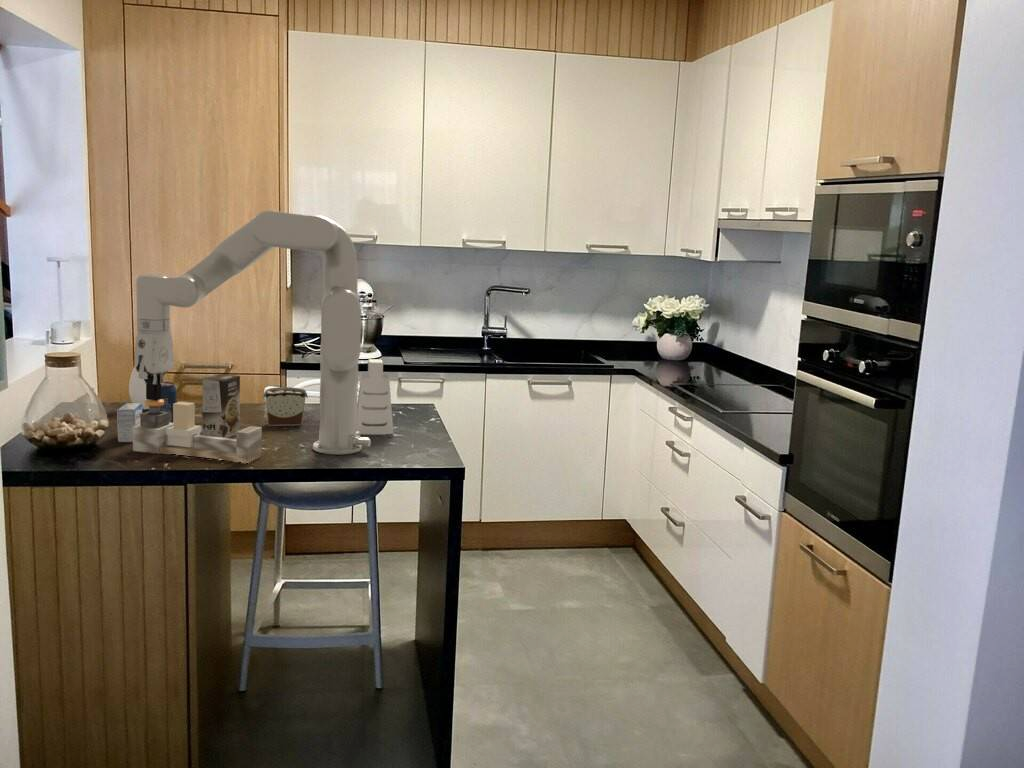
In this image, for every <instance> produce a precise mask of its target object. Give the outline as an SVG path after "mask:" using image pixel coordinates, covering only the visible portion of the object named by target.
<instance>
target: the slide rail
mask: <svg viewBox="0 0 1024 768" xmlns="http://www.w3.org/2000/svg"><path fill="white" fill-rule="evenodd" d="M172 426H173V423H170V422H169V413H167V412H162V411H160V414H159V415H150V414H149V410H148V411H145V412H142V414H140V425H137V426H134V427H133V442H132V451H133V452H140V453H148V452H149V454H156V453H157V455H159V454H161V453H162V454H164V455H170V454H176V455H175V456H178V455H187V456H196V457H206V458H214V459H222V460H228V461H227V462H229V461H233V462H232V463H238V462H241V463H240V464H246V463H248V464H250V463H252V462H254V461H256V460H258V459H260V458H262V457H261V456H262V452H263V449H262V444H263V441H262V440H263V439H262V438H263V434H262V433H263V432H262V431H263V428H262V426H253V425H250V426H248V427H244V428H243V429H240V431H238V432H236V435H235V436H236V438H221V437H212V436H203V435H202V434H200V435H193V447H182V446H173V445H168V435H166V428H169V427H172ZM162 454H161V455H162ZM187 456H186V457H187ZM259 457H260V458H259ZM257 458H258V459H257ZM255 459H256V460H255ZM253 460H254V461H253ZM251 461H252V462H251ZM249 462H250V463H249Z"/></svg>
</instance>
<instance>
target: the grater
mask: <svg viewBox="0 0 1024 768" xmlns="http://www.w3.org/2000/svg"><path fill="white" fill-rule="evenodd" d="M390 383H391V382H390V377H389V374H388V373H384V361H383V360H382V359H381V358H380V359H377V358H376V359H375V358H372V359H371V358H369V359H368V363H367V373H366V372H365V373H360V382H359V388H358V389H359V390H358V394H357V426H356V431H359V432H360V435H386V434H393V435H394V424H393V423H394V422H393V411H392V410H393V409H392V399H391V398H392V397H391V386H390V385H391V384H390Z"/></svg>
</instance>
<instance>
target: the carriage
mask: <svg viewBox="0 0 1024 768" xmlns="http://www.w3.org/2000/svg"><path fill="white" fill-rule="evenodd" d="M195 405H196V404H195V402H188V401H177V403H174V404H173V426H172V427H169V428H166V435H168V445H173V446H182V447H193V435H201V433H202V425H196V424H195V423H196V421H195V419H196V416H195V415H196V411H195V410H196V408H195V407H196V406H195Z"/></svg>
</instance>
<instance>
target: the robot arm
mask: <svg viewBox="0 0 1024 768" xmlns="http://www.w3.org/2000/svg"><path fill="white" fill-rule="evenodd" d="M275 248H279V249H280V248H281V249H287V250H297V251H309V252H316V253H317V252H319V253H320V256H321V259H322V275H323V276H322V278H323V280H322V281H323V282H322V283H323V284H322V298H321V304H320V309H321V310H320V316H321V317H320V318H321V320H320V326H321V327H320V331H321V332H320V336H321V338H320V347H319V348H320V349H319V350H320V354H319V355H320V366H319V367H320V368H319V369H320V373H319V374H320V375H319V376H320V378H319V381H320V382H319V384H320V385H319V418H318V421H319V423H318V425H319V426H318V431H319V432H318V440H317V441H315V442H313V444H312V450H314V451H315V452H316V453H320V454H324V455H335V456H336V455H351V454H356V453H359V452H360V451H362V449H363V447H370V446H371V444H372V443H371V442H372V441H371V439H370V437H365V436H364V437H362V435H361V434H360V432H359V431H356V426H357V402H358V392H359V390H358V389H359V388H358V386H359V360H360V355H361V337H362V336H361V335H362V333H361V332H362V329H361V327H362V325H361V323H362V310H361V303H360V299H359V296H358V295H359V293H358V259H357V258H358V257H357V251H356V248H355V245H354V243H353V240H352V239H351V236H350V235H349V233H347V231H346V230H345V229H344V228H343V227H342V226H341V225H340V224H338V223H336V222H335V221H334V220H332V219H330V218H329V217H327V216H323V215H310V214H301V213H290V212H284V211H279V210H273V209H266V210H263V211H261V212H259V213H258V214H256V216H255V217H253V219H251V220H249V222H247V223H245V224H244V225H243V226H242V227H240V228H238V230H236V231H235V232H234V233H231V234H230V236H228V237H227V238H224V240H222V241H221V242H220V243H219V244H218V245H217V246H216V247H215V248H214V250H213V251H212V252H211V253H210V254H208V255H207V256H206V257H205V258H203V260H201V261H199V262H198V263H197V264H196V265H194V266H193V267H192V268H190V269H189V270H187V271H186V272H185V273H183V274H181V275H180V276H177V277H176V276H175V277H167V276H165V275H162V274H142V275H139V276H137V279H136V281H135V282H136V332H137V333H136V338H135V346H134V347H135V348H134V366H135V369H136V371H137V372H139V378H141V379H144V382H145V384H146V399H148V400H160V399H161V384H160V383H162V382H164V376H165V375H166V374H168V373H169V371H170V370H173V368H174V367H175V355H174V344H173V343H174V342H173V336H172V332H171V328H170V327H171V326H170V325H171V324H170V323H171V321H170V317H171V312H170V309H171V307H177V308H191V307H193V306H196V304H198V303H199V302H200V301H201V300H203V299H205V297H207V296H208V295H210V293H212V292H213V291H214V290H216V289H217V288H219V287H220V286H221V285H223V284H224V283H225V282H226V281H228V280H230V279H231V278H233V277H235V276H237V275H240V274H241V273H242V272H244V271H245V270H247V269H248V268H249V267H251V266H252V265H254V264H255V263H256V262H258V261H259V260H260V259H261V258H262V257H264V256H265V255H267V254H268V253H270V252H271V251H272V250H273V249H275ZM170 306H171V307H170Z"/></svg>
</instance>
